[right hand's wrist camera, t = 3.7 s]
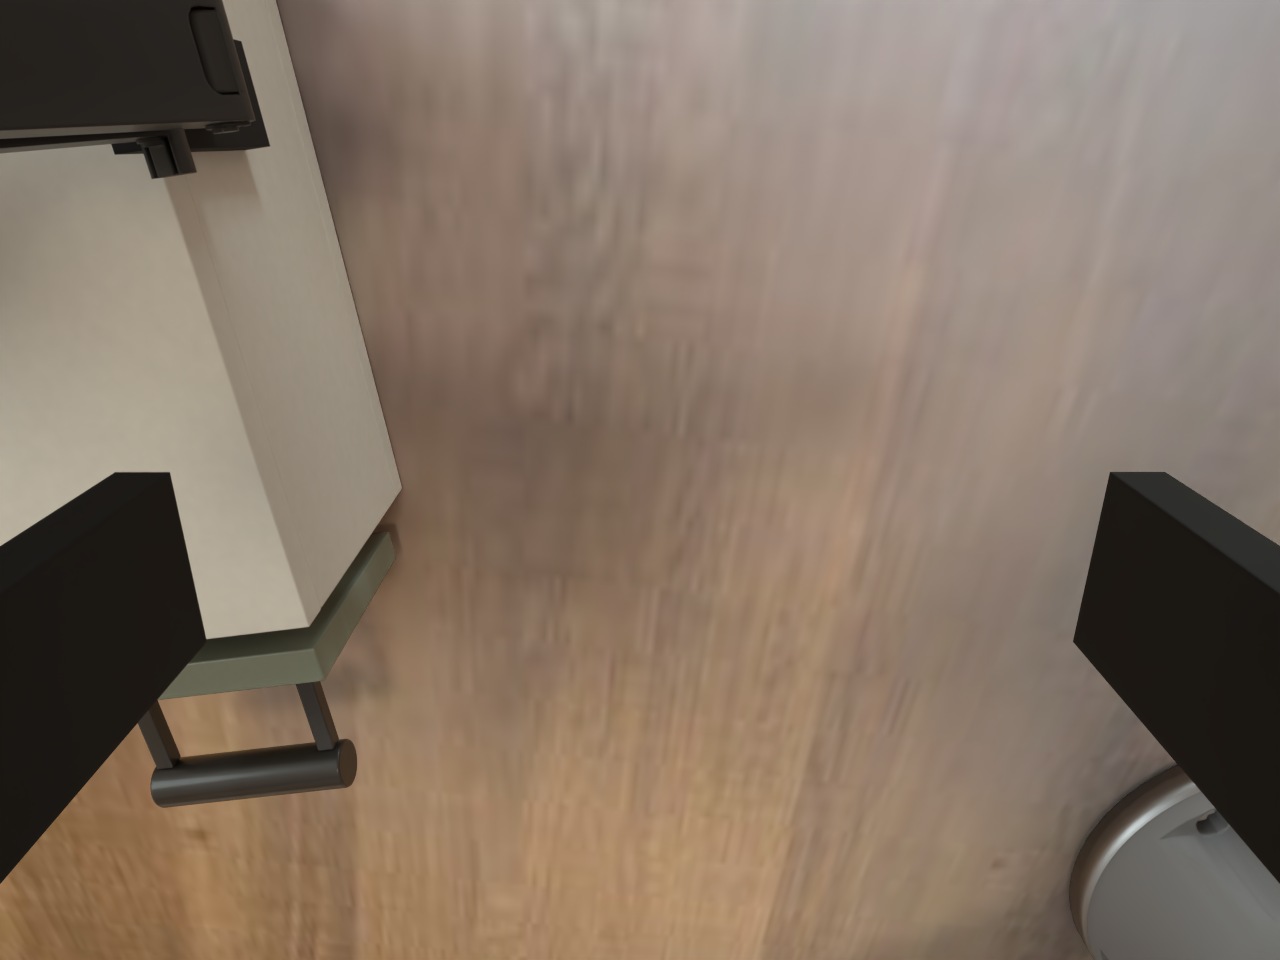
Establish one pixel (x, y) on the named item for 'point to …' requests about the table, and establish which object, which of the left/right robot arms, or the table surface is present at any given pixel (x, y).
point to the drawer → (260, 666)
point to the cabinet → (196, 352)
